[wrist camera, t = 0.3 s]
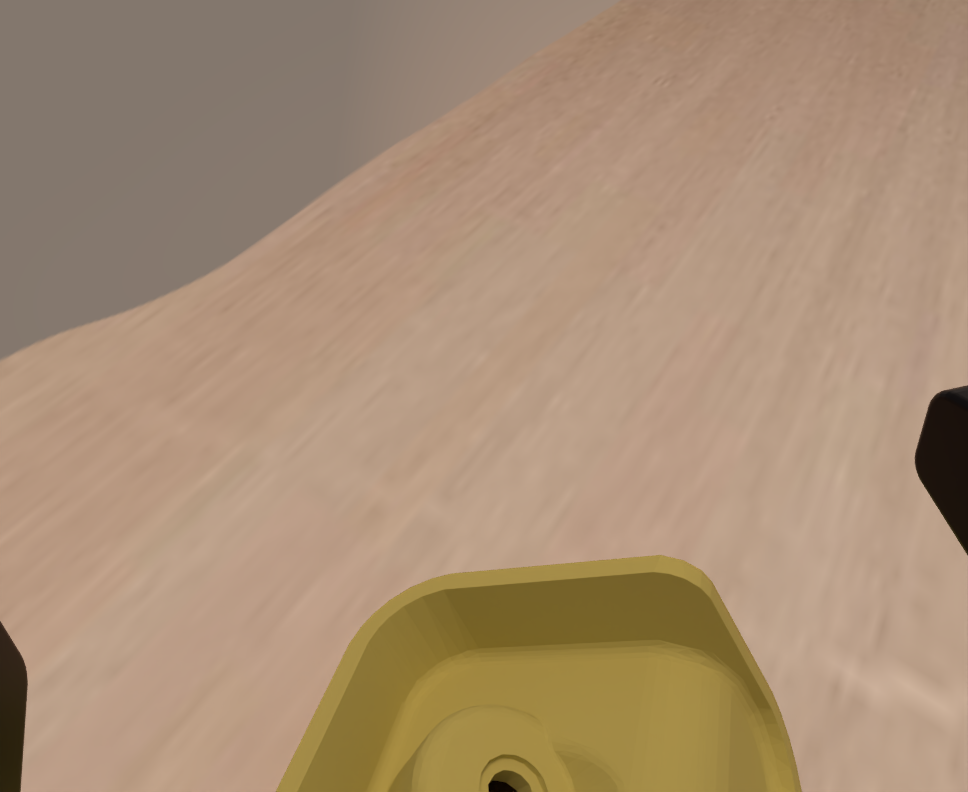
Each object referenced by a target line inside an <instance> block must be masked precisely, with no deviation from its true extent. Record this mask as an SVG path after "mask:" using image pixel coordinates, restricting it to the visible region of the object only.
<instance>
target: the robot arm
mask: <svg viewBox="0 0 968 792" xmlns="http://www.w3.org/2000/svg"><path fill="white" fill-rule="evenodd" d="M915 466H916V471H917V473H918V476H919V478H920V480H921V482H922V483H923V485H924V487H925V488H926V490H927V491H928V493H929V495H930V496H931V498H932V499H933V501H934V502H935V504H936V506H937V507H938V509H939V510H940V512H941V514H942V515H943V517H944V518H945V520H946V522H947V523H948V525H949V526H950V528H951V529H952V531H953V533H954V534H955V536H956V537H957V539H958V541H959V542H960V544H961V545H962V547H963V549H964V550H965V552H966V553H967V555H968V385H967V386H963V387H958V388H953V389H949V390H944V391H941V392H939V393H937V394H936V395H935V396H934V397H933V399H932V400H931V402H930V404H929V407H928V410H927V414H926V417H925V421H924V424H923V428H922V431H921V435H920V438H919V442H918V445H917V449H916V453H915ZM27 685H28V680H27V671H26V666H25V663H24V660H23V658H22V656H21V654H20V652H19V651H18V649H17V647H16V646H15V644H14V643H13V641H12V639H11V638H10V636H9V634H8V633H7V631H6V630H5V628H4V626H3V625H2V623H1V621H0V792H20V791H21V776H22V761H23V746H24V731H25V716H26V701H27Z"/></svg>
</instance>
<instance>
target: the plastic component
mask: <svg viewBox="0 0 968 792" xmlns="http://www.w3.org/2000/svg"><path fill="white" fill-rule="evenodd" d="M493 780H495V781H501V782H506V783H507V784H509V785H510V786H511V787H513V788H514V789H515V790H516V791H517V792H802V791H801V786H800V781H799V776H798V771H797V766H796V762H795V758H794V755H793V751H792V747H791V743H790V739H789V736H788V733H787V730H786V727H785V724H784V721H783V718H782V715H781V712H780V710H779V707H778V705H777V702H776V700H775V698H774V695H773V693H772V691H771V689H770V687H769V685H768V683H767V682H766V680H765V678H764V676H763V674H762V672H761V671H760V669H759V667H758V665H757V663H756V661H755V660H754V658H753V656H752V654H751V652H750V650H749V649H748V647H747V645H746V643H745V641H744V639H743V638H742V636H741V634H740V632H739V630H738V628H737V627H736V625H735V623H734V621H733V619H732V617H731V616H730V614H729V612H728V610H727V608H726V606H725V605H724V603H723V601H722V599H721V597H720V595H719V594H718V592H717V590H716V588H715V586H714V584H713V583H712V581H711V580H710V579H709V578H708V577H707V576H706V575H705V574H704V572H703V571H702V570H700V569H698V568H696V567H694V566H693V565H691V564H689V563H687V562H685V561H684V560H679V559H675V558H671V557H667V556H662V555H656V556H644V557H633V558H622V559H611V560H599V561H588V562H577V563H566V564H555V565H543V566H532V567H521V568H510V569H499V570H487V571H476V572H465V573H454V574H448V575H444V576H440V577H436V578H432V579H430V580H427V581H425V582H422V583H420V584H418V585H415V586H413V587H411V588H409V589H407V590H406V591H404V592H402V593H401V594H399V595H397V596H396V597H394V598H393V599H391V600H389V601H388V602H387V603H386V604H385V605H383V606H382V607H381V608H380V609H379V610H377V611H376V612H375V613H374V614H373V615H372V616H371V617H370V618H369V619H368V620H367V621H366V622H365V623H364V624H363V625H362V627H361V628H360V629H359V631H358V632H357V634H356V635H355V636H354V638H353V639H352V640H351V642H350V643H349V645H348V648H347V650H346V652H345V654H344V656H343V658H342V660H341V662H340V664H339V666H338V668H337V670H336V672H335V674H334V676H333V678H332V680H331V682H330V684H329V686H328V688H327V690H326V692H325V694H324V696H323V698H322V700H321V702H320V704H319V706H318V708H317V710H316V712H315V714H314V716H313V718H312V720H311V722H310V724H309V726H308V728H307V730H306V732H305V734H304V736H303V738H302V740H301V742H300V744H299V746H298V748H297V750H296V752H295V754H294V756H293V758H292V760H291V762H290V764H289V766H288V768H287V770H286V772H285V774H284V776H283V778H282V780H281V782H280V784H279V786H278V788H277V790H276V792H489V790H488V784H489V783H490V782H492V781H493Z"/></svg>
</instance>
